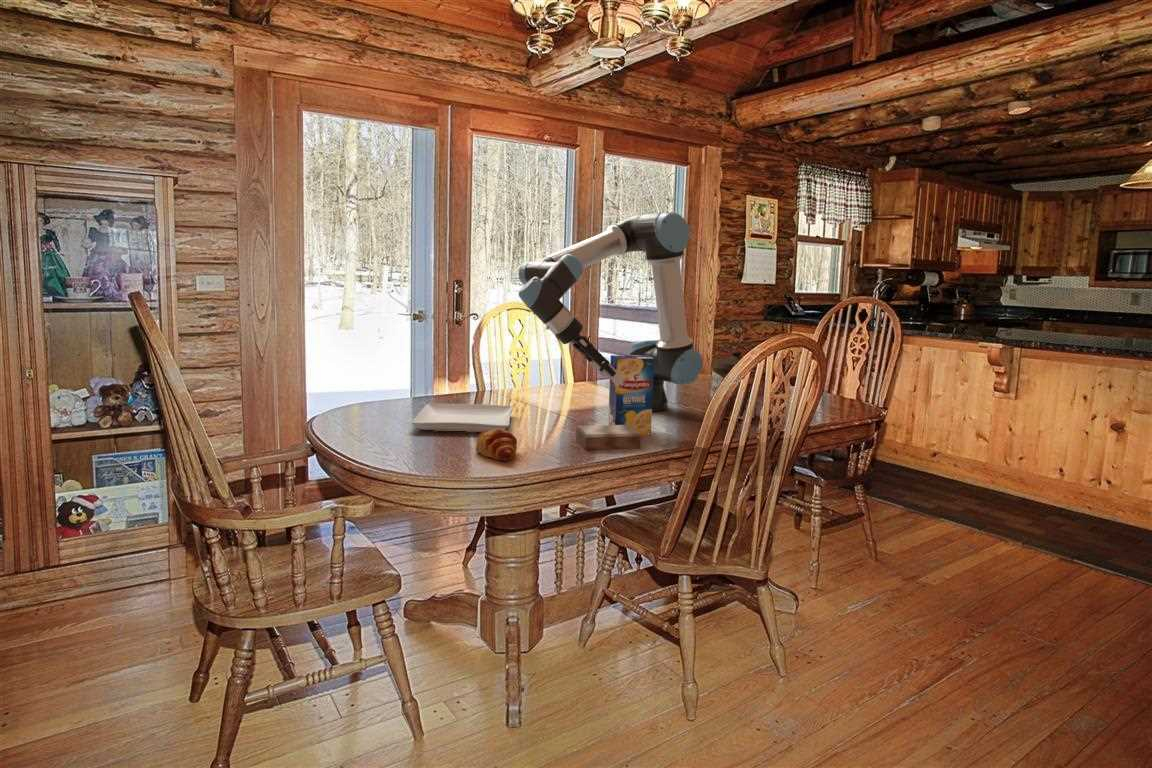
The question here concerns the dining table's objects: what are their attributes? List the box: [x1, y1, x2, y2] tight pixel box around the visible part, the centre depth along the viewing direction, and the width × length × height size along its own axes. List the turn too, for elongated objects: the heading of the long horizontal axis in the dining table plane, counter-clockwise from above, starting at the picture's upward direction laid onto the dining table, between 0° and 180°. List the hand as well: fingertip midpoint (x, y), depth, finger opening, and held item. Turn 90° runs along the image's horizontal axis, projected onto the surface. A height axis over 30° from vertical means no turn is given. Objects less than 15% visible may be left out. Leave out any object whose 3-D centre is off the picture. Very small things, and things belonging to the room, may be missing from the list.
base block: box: [575, 424, 642, 451], centre depth 193 cm, size 15×11×4 cm
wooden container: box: [709, 348, 757, 418], centre depth 233 cm, size 15×15×22 cm
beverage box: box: [607, 354, 655, 435], centre depth 206 cm, size 7×11×22 cm, turn 105°
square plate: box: [411, 403, 514, 433], centre depth 212 cm, size 27×27×4 cm
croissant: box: [475, 429, 518, 462], centre depth 180 cm, size 21×10×8 cm, turn 24°
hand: (614, 379), depth 204 cm, fingers open, 13 cm apart
